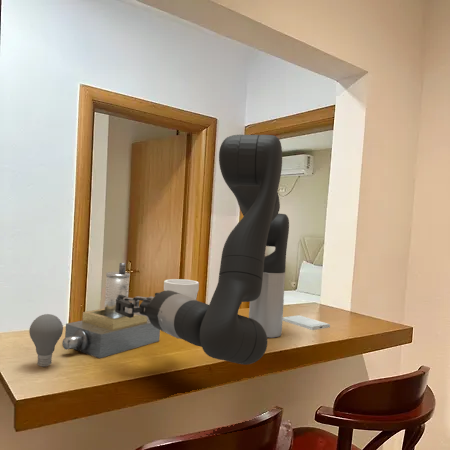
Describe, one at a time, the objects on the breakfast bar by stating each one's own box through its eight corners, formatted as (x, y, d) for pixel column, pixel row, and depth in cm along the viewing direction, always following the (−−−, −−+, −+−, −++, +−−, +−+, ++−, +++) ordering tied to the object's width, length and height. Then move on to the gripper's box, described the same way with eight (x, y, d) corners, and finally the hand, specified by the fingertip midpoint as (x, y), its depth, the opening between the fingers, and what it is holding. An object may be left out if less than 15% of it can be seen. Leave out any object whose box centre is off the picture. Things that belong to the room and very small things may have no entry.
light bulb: (59, 370, 79) (62, 318, 79) (24, 372, 77) (27, 318, 77) (62, 360, 84) (65, 311, 84) (30, 361, 83) (32, 311, 83)
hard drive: (282, 317, 132) (312, 326, 122) (300, 315, 137) (330, 323, 127) (282, 322, 132) (312, 331, 122) (299, 320, 137) (330, 328, 127)
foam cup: (190, 335, 108) (193, 285, 108) (156, 331, 110) (159, 282, 110) (199, 326, 118) (202, 280, 117) (168, 323, 119) (171, 278, 119)
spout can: (116, 318, 101) (119, 260, 101) (131, 322, 98) (135, 263, 98) (98, 321, 97) (101, 261, 97) (113, 326, 94) (117, 264, 93)
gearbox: (125, 331, 108) (127, 303, 108) (159, 341, 102) (161, 311, 102) (48, 349, 90) (50, 316, 90) (83, 363, 83) (85, 327, 83)
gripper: (210, 292, 80) (168, 279, 93) (143, 296, 72) (106, 282, 84) (207, 330, 80) (166, 313, 93) (140, 339, 72) (104, 319, 85)
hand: (138, 298), depth 89 cm, fingers open, 8 cm apart
